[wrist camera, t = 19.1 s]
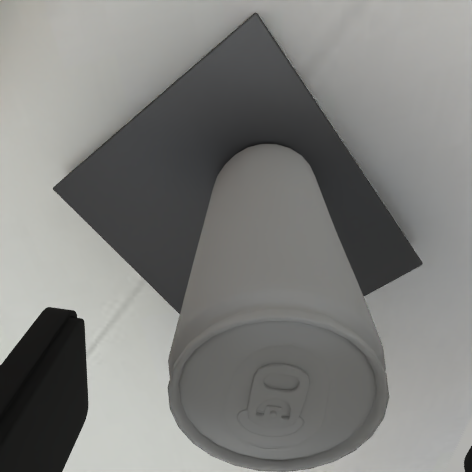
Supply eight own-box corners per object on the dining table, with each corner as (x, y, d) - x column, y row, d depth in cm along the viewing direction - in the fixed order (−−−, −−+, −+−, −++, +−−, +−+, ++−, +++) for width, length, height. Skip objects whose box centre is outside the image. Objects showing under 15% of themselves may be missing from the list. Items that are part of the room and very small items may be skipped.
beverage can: (208, 230, 20) (155, 461, 10) (220, 132, 18) (168, 292, 7) (305, 243, 20) (359, 488, 10) (329, 148, 18) (432, 329, 8)
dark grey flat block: (417, 255, 23) (443, 293, 19) (233, 357, 27) (229, 402, 23) (256, 12, 18) (256, 10, 14) (58, 183, 22) (25, 211, 18)
